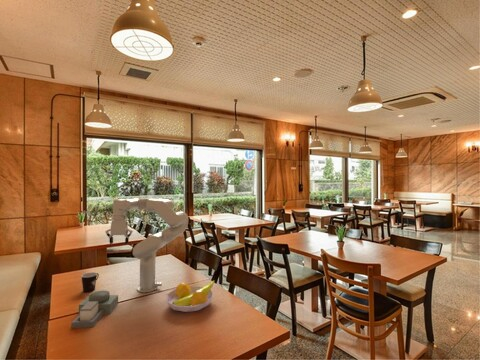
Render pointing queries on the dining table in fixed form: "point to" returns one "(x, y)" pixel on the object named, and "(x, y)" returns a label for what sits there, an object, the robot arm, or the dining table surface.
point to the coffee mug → (89, 281)
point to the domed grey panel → (104, 307)
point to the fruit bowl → (189, 297)
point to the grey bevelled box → (89, 311)
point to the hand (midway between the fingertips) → (119, 243)
